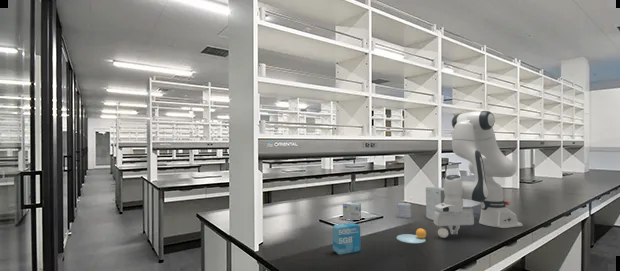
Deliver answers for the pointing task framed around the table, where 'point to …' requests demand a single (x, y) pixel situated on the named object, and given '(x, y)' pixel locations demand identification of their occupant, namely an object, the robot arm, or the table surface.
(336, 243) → the data package
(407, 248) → the table surface
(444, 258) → the table surface
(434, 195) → the hard drive box
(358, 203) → the light bulb box
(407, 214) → the medicine box
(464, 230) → the table surface
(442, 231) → the white ball
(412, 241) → the blue mark
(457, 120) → the robot arm
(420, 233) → the orange ball
